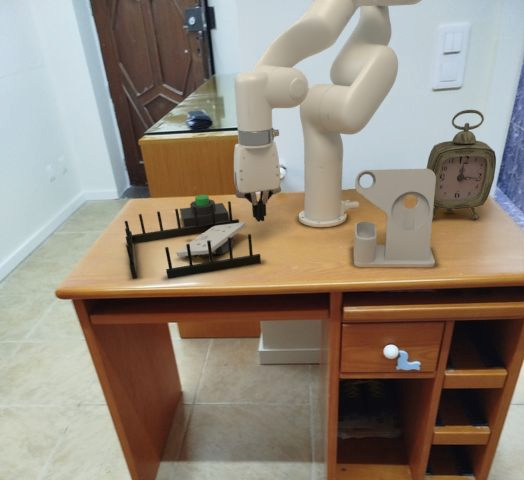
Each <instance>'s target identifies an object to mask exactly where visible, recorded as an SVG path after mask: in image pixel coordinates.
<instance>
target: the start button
mask: <svg viewBox="0 0 524 480" xmlns="http://www.w3.org/2000/svg"><path fill="white" fill-rule="evenodd" d="M209 199H210V197H209V195H207V194H200V195H196V196H194V201H195V202H196V205H197V206H206V205H208V204H209Z"/></svg>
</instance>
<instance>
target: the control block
mask: <svg viewBox="0 0 524 480" xmlns="http://www.w3.org/2000/svg"><path fill="white" fill-rule="evenodd" d="M211 204H213V206H214V215H215V222H222V221H228V220H230V218H229V210H227V208H226V206H225V205H224V203H223V202H219V203H216V202H215V200H213V199H210V198H209V204H208V205H206V206H197V205H196V202H195V200H193V201H191V202H190V204H189V207H184V208H179V214H180V219H181V222H182V225H183V227H188V226H195V218H194V211H193V206H196V213H197V220H198V225H202V224H208V223H213V221H212V213H211Z"/></svg>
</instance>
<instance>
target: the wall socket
mask: <svg viewBox="0 0 524 480" xmlns="http://www.w3.org/2000/svg"><path fill="white" fill-rule="evenodd" d="M246 227H247V226H246V222H245V221H242V222H239V223H234V224H226V225H218V226H214V227H212V228H210V229H209V230H207V231H206V232H204V233H200V235H198V236H197V237H195V238H194V239H193V240H191V241H190V242H188V244H190V250H191V257H192V259H196V258H204V257H209V252H208V244H207V241H208V240H210V242H211V250H212V255H220V254H225V253H226V252H228V251H229V246H228V237H231V243H232V247H233V246H234V245H235V244H234V240H235V236H236V234H238V233H239V232H240V231H242V230H243V229H244V228H246ZM175 254H176V256H178V257H185V259H188V252H187V246H186V245H184V246H182V247H181V248H180V249H179V250H177V251H176V252H175Z"/></svg>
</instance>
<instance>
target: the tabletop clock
mask: <svg viewBox="0 0 524 480" xmlns="http://www.w3.org/2000/svg"><path fill="white" fill-rule="evenodd" d="M464 114H475V115H478V116H480V118H481V121H480V122H479V123H478V124H476V125H472V126H471V125H470V123H469V122H466V123H464V125H463V126H461V125H457V124H456V123H455V120H456V118H458V117H459V116H461V115H464ZM484 120H485V117H484V114H483V113H482V112H481V111H479V110H477V109H465V110H460V111H459V112H457V113H456V114H455V115H454V116H453V118H452V119H451V125H452V127H454V129H457V130H460V131H459V132H457V133H456V134H455V135H454V136H453V138H452V140H447V141H442V142H439V143H436V144H434V145H433V147H432V148H431V150H430V152H429V155H428V159H427V162H426V163H427V164H426V168H425V169H430V170H432V171H433V172H434V173H435V176H436V183H435V194H434V206H433V217H432V221H433V220H434V219H435V218H436V215H435V213H436V212H437V210H438V209H442V210H443V209H444V210H445V212H446V213H447V214H452V213H453V210H464V209H470V210H471V213H472V214H471V219H473V220H477V219H479V218H480V214H479V213H478V212H476V211H475V208H478V207H480V206H483V205H485V203H486V202H487V200H488V198H489V195H490V193H491V190H492V186H493V183H494V181H495V173H496V166H497V156H496V151H495V150H494V149H493V148H492V147H491V146H490V145H488V144H487V143H486V142H483V141H480V140H477V138H476V135H475V134H474V133H473V131H471V130H475V129H477V128H480V126H482V125H483V123H484Z"/></svg>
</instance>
